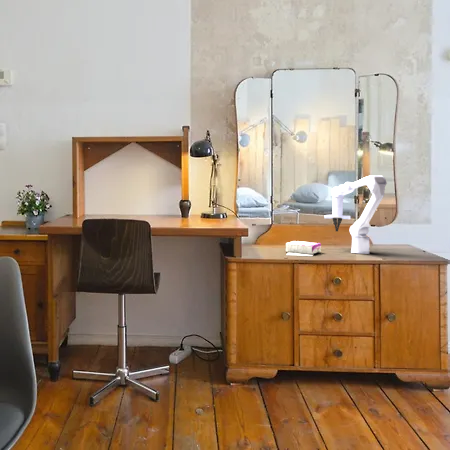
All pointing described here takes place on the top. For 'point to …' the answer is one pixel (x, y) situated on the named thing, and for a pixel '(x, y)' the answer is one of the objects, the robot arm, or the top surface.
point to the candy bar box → (303, 247)
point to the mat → (298, 254)
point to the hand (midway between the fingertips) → (336, 231)
